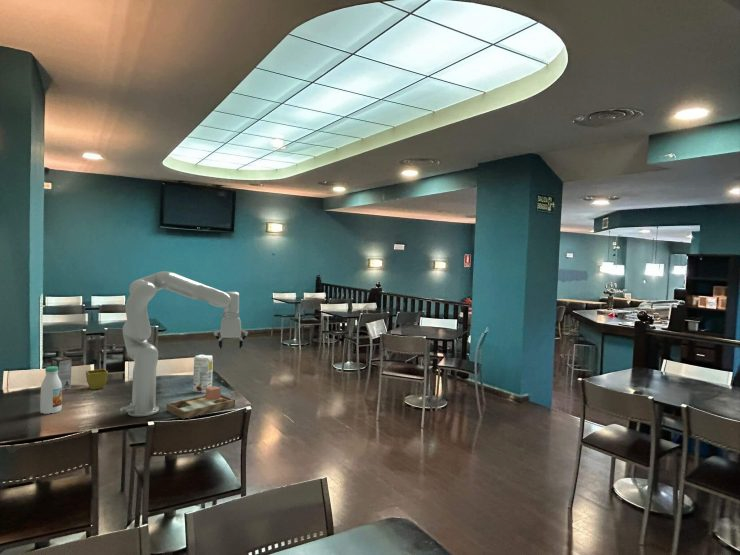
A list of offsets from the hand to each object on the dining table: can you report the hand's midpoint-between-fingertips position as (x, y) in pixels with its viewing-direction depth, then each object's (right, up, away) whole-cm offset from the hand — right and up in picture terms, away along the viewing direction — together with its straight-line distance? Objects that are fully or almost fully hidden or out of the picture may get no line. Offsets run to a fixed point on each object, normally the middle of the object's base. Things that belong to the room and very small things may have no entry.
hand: (230, 348), depth 230 cm
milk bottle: (-70, -23, -33) cm, 81 cm away
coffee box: (-89, -21, +1) cm, 92 cm away
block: (-5, -23, -12) cm, 26 cm away
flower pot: (-72, -22, +4) cm, 76 cm away
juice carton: (-17, -24, +7) cm, 31 cm away
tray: (-7, -26, -21) cm, 34 cm away
